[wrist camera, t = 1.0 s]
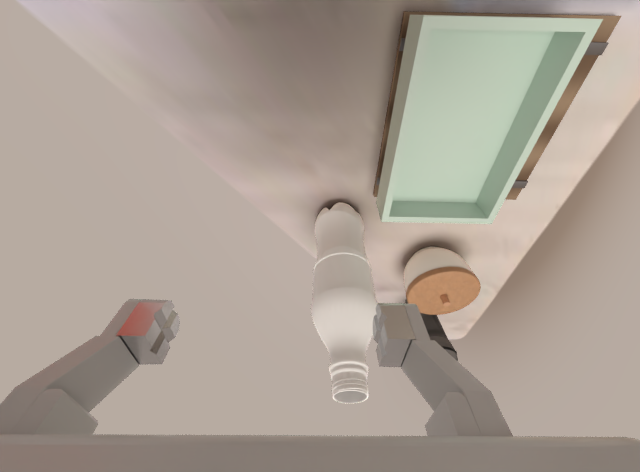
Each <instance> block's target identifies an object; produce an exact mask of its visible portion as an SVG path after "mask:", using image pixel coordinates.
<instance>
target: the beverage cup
mask: <svg viewBox="0 0 640 472" xmlns="http://www.w3.org/2000/svg"><path fill="white" fill-rule="evenodd" d="M406 304H408V302H407V300H406ZM420 314H421V316H422V319H423V322H424V324H425V327H426V329H427V332H428V335H429V337H430V340H435V341H436V342H437V343H438V344H439V345H440V346H441V347H442V348H443V349H445V350H446V351H447V352H448V353H449V354H450V355H451V356H452V357H453V358H454V359H456V360H457V361H458V358H457V352H456V351H455V350H454V348H453V346H452V344H451V343H450V341H449V340H448V338H447V336H446V334H445V332H444V330H443V328H442V326H441V324H440V321H439V319H438V317H437V315H429V314H423V313H420Z"/></svg>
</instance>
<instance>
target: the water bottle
mask: <svg viewBox="0 0 640 472" xmlns="http://www.w3.org/2000/svg"><path fill="white" fill-rule="evenodd" d="M314 233H315V238H316V242H317V261H316V264H315V266H314V269H313V298H312V304H311V315H312V320H313V323H314V325H315V328H316V330H317V332H318V334H319V336H320V338H321V339H322V341H323V343H324V345H325V346H326V348H327V350H328V353H329V356H330V360H331V364H330V365H329V372H330V374H331V375H330V377H331V380H332V394H333V399H334V400H336V401H337V402H342V403H358V402H362V401H365V400H366V399H367V398H368V394H369V393H368V387H367V385H368V383H367V378H368V374H367V373H368V371H369V368H368V364H366V363H365V358H366V352H367V348H368V345H369V343H370V340H371V338H372V336H373V318H374V316H375V315H376V306H377V304H378V302H377V299H376V295H375V290H374V284H373V279H372V273H371V266H370V264H369V262H368V259H367V257H366V253H365V249H364V224H363V220H362V218H361V216H360V214H359V213H358V212H356V211H355V210H354V209H353V208H352V207H351V206H350V205H348V204H346V203H341V202H339V203H336V204H335V205H334V206H333V207H332V208H331V209H330V210H329V209H328V208H324V209H322V210H321V212H320V213H319V215H318V216H317V219H316V222H315V227H314Z"/></svg>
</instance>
